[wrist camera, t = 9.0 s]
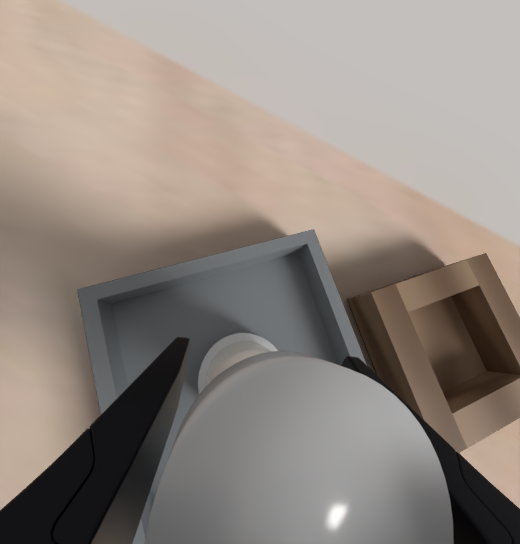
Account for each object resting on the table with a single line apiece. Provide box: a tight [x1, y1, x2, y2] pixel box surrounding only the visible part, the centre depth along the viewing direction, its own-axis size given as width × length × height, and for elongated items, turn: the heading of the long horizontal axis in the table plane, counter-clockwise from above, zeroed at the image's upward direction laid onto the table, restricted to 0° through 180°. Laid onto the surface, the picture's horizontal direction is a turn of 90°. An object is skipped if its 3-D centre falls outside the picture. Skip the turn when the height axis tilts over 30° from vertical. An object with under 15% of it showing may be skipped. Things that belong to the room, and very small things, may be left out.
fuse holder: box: [347, 253, 520, 453], centre depth 18 cm, size 10×10×3 cm
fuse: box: [145, 332, 454, 544], centre depth 10 cm, size 5×5×12 cm
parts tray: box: [77, 229, 367, 544], centre depth 15 cm, size 14×14×3 cm
